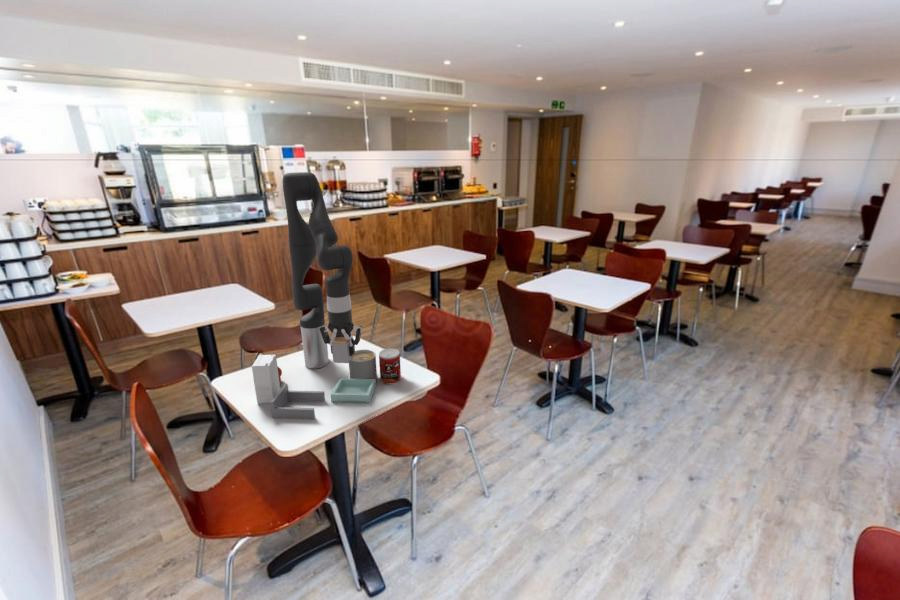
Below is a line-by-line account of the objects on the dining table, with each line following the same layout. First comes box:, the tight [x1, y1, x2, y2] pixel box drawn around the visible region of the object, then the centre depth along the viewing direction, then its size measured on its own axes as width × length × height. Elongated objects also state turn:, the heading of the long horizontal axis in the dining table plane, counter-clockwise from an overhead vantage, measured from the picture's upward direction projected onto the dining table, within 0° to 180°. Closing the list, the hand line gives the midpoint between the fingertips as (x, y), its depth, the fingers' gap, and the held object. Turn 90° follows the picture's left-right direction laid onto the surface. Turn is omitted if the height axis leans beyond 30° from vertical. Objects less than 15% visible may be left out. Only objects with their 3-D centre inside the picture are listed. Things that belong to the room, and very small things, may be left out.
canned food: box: [378, 348, 402, 385], centre depth 157 cm, size 8×8×11 cm
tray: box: [330, 377, 377, 404], centre depth 148 cm, size 11×13×3 cm
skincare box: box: [251, 354, 281, 405], centre depth 144 cm, size 8×6×15 cm
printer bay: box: [269, 383, 326, 420], centre depth 139 cm, size 11×14×6 cm
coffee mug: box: [348, 349, 378, 381], centre depth 158 cm, size 13×10×10 cm
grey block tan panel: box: [331, 337, 353, 364], centre depth 139 cm, size 6×5×8 cm
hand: (343, 354), depth 140 cm, fingers closed on grey block tan panel, 5 cm apart
